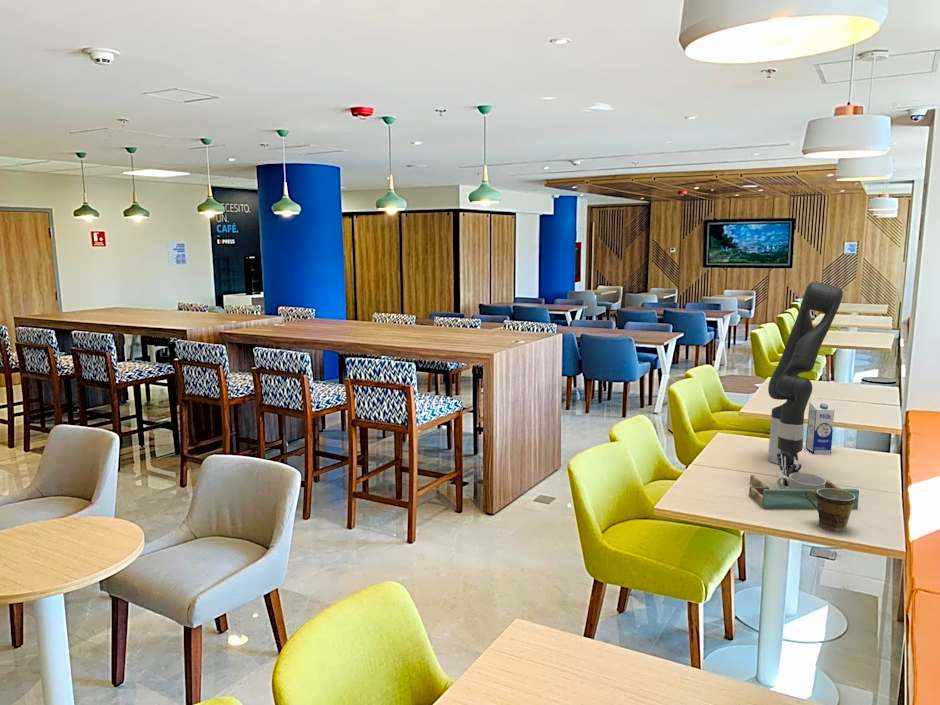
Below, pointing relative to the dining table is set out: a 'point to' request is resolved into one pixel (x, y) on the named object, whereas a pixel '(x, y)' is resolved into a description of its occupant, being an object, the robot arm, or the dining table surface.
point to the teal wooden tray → (789, 496)
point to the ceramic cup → (833, 507)
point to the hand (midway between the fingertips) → (786, 485)
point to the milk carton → (820, 428)
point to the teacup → (802, 481)
